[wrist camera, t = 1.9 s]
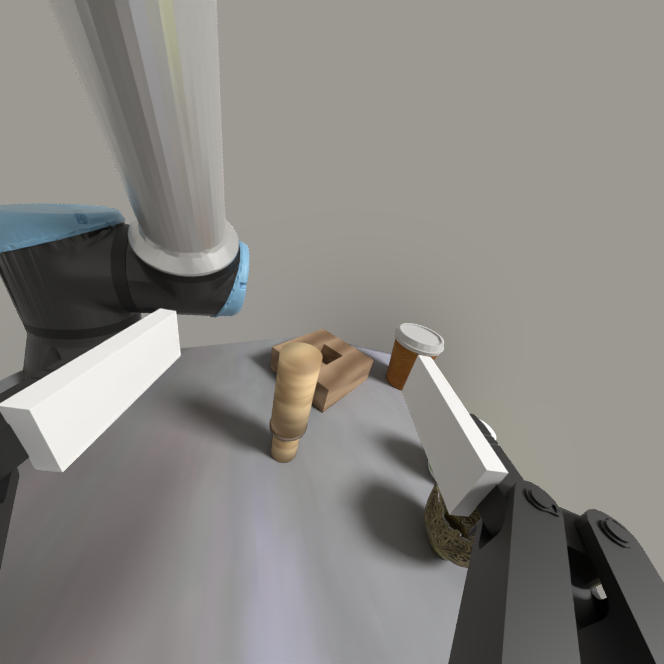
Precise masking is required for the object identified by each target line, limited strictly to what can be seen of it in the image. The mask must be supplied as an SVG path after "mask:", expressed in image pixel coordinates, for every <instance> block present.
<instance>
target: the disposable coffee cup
mask: <svg viewBox="0 0 664 664" xmlns="http://www.w3.org/2000/svg"><path fill="white" fill-rule="evenodd" d="M395 338H396V339H395V342H394V347H393V351H392V355H391V359H390V363H389V367H388V371H387V375H386V378H387V381H388V382H389V383H390V384H391V385H392V386H394V387H395V388H397V389H399V390H402V389H403V387H404V385H405V383H406V381H407V378H408V376H409V374H410V372H411V370H412V367H413V365H414V363H415V361H416V359H417V356H418V355H423V356H428V357H431V358H432V359H433V361H434V359H435V358H436V357H437V355H439V354H440V353H441V352H443V350H444V347H443V345H444V340H443V338H442V337H441V336H440V335H439V334H437V333H436V332H434V331H432V330H431V329H429V328H426V327H424V326H421V325H418V324H412V323H404V324H401V325H400V327H399V328H398V329H397V330H396V331H395Z"/></svg>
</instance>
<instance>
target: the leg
mask: <svg viewBox="0 0 664 664" xmlns="http://www.w3.org/2000/svg"><path fill="white" fill-rule="evenodd" d="M321 362H322V353H321V352H320V351H319V350H318V349H317V348H316V347H314V346H312V345H310V344H307V343H302V342H293V343H288V344H286V345H284V346H283V347H282V348H281V349H280V355H279V362H278V370H277V378H276V386H275V393H274V401H273V409H272V417H271V420H270V431H271V433H272V434H273V440H272V447H271V455H272V457H273V458H274V459H275V460H276V461H278V462H281V463H286V462H289V461H291V460H292V459H293V458H294V457H295V455H296V452H297V447H298V443H299V438H301V437H302V436H303V435H304V434H305V432H306V429H307V421H308V417H309V413H310V409H311V404H312V400H313V396H314V392H315V387H316V383H317V379H318V375H319V371H320V366H321Z"/></svg>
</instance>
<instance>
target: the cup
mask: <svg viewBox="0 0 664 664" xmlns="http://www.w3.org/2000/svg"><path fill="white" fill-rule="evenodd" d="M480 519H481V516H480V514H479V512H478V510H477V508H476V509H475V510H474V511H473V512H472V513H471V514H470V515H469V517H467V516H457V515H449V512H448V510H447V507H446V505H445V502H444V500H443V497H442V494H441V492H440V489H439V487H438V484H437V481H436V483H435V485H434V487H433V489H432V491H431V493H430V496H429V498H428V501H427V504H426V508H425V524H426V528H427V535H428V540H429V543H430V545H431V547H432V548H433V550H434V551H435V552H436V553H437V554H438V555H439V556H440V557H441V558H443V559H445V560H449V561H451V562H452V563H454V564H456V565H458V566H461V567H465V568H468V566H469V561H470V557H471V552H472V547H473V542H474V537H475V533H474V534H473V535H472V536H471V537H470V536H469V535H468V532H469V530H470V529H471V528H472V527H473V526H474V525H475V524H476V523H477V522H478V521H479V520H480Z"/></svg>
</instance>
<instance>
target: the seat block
mask: <svg viewBox="0 0 664 664" xmlns="http://www.w3.org/2000/svg"><path fill="white" fill-rule="evenodd" d="M293 342H302V343H307V344H310V345H312V346H314V347H316V348H317V349H318V350H319V351H320V352H321V353H322V362H321V366H320V371H319V375H318V379H317V383H316V387H315V392H314V396H313V400H312V404H313V405H314V406H315V407H317V408H318V409H319V410H320V411H321V412H322V413H323V412H324V411H325V410H327V409H328V408H329V407H331V406H332V405H333V404H335V403H336V402H337V401H339V400H340V399H341V398H343V397H344V396H345V395H347V394H348V393H349V392H351V391H352V390H353V389H355V388H356V387H357V386H359V385H360V384H361V383H363V382H364V381H365V380H367V378H368V375H369V372H370V369H371V367H372V364H373V361H374V360H373V359H372V358H370V357H368V356H367V355H365V354H363V353H362V352H360V351H358V350H357V349H355V348H354V347H352V346H350V345H349V344H347V343H345V342H344V341H342V340H340V339H339V338H337V337H335V336H334V335H332V334H331V333H329V332H327V331H326V330H324V329H321V330H318V331H315V332H312V333H310V334H307V335H304V336H301V337H298V338H295V339H293V340H290V341H287V342H284V343H282V344H279V345H276V346H273V347H272V356H271V365H270V368H271V369H272V370H273V371H274V372H275V373H277V370H278V362H279V355H280V349H281V348H282V347H283V346H284V345H286V344H288V343H293Z"/></svg>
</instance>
